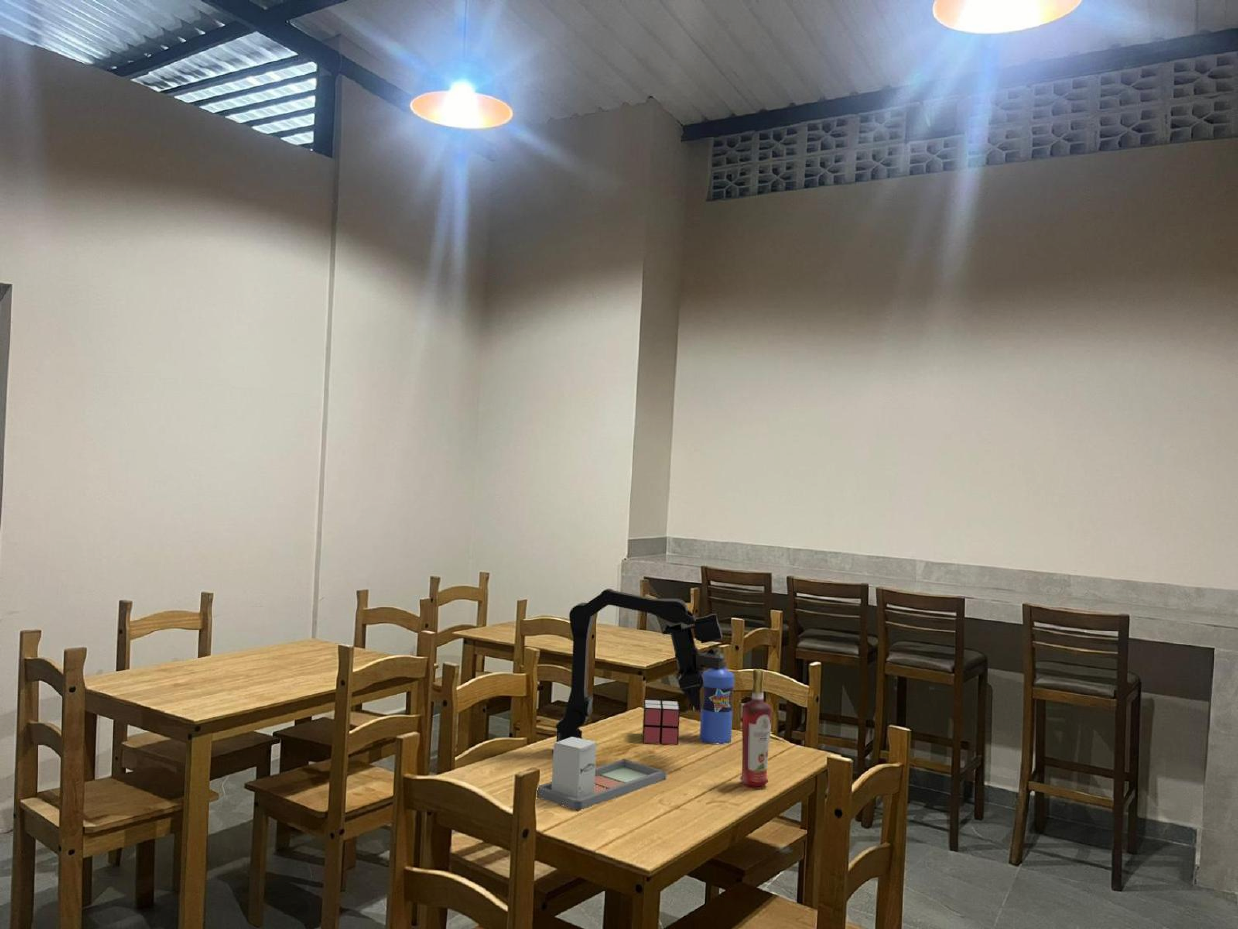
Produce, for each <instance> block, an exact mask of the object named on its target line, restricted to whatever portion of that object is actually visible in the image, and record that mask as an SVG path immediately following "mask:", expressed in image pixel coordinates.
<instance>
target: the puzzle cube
mask: <svg viewBox="0 0 1238 929" xmlns="http://www.w3.org/2000/svg"><path fill="white" fill-rule="evenodd" d="M680 709H681V708H680V706H679V702H678V701H671V700H662V701H661V700H653V699H652V700H651V699H644V701H643V714H642V715H643V718H642V735H641V736H642V743H643V744H649V743H660V744H661V745H668V744H675V745H674V746H678V745H679V737H680V736H679V735H680V732H679V731H680V714H681V713H680V712H681V710H680Z"/></svg>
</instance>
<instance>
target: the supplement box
mask: <svg viewBox="0 0 1238 929" xmlns="http://www.w3.org/2000/svg"><path fill="white" fill-rule="evenodd" d="M597 744H598V743H597V741H594V740H588V739H586V738H585V739H584V738H583V739H580V738H575V737H570V738H567V739H564V740H562V741H559V742H554V743H553V750H554V753H552V754H553V757H552V769H551V770H552V772H551V774H552V776H551V782H552V789H551V790H553V791H556V792H558V793H561V794H564V795H567V796H570V797H573V798H576V799H580V798H583V797H586V796H589V795H592V794H594V784H595V768H596V765H597V764H596V763H597V762H596V761H597Z"/></svg>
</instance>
